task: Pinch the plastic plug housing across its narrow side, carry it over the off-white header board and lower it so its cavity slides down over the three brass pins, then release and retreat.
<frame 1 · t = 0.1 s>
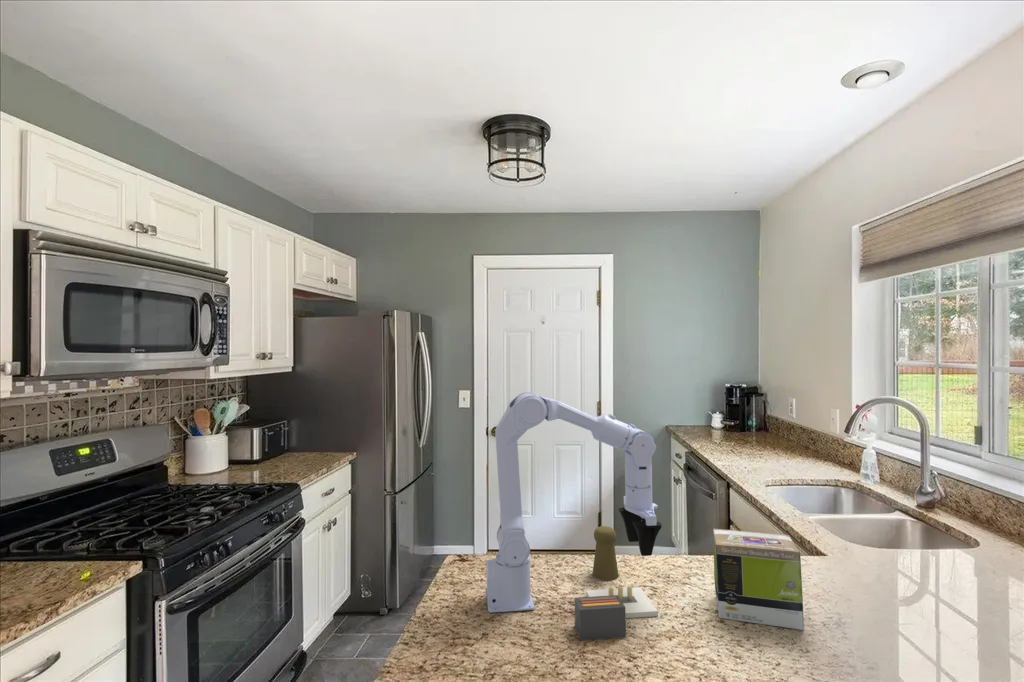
hand: (639, 548, 106), 10 cm above the worktop, fingers open, 7 cm apart
plug housing: (599, 632, 92), on the worktop
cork: (605, 575, 115), on the worktop
tea box: (756, 613, 98), on the worktop
header board: (620, 605, 101), on the worktop
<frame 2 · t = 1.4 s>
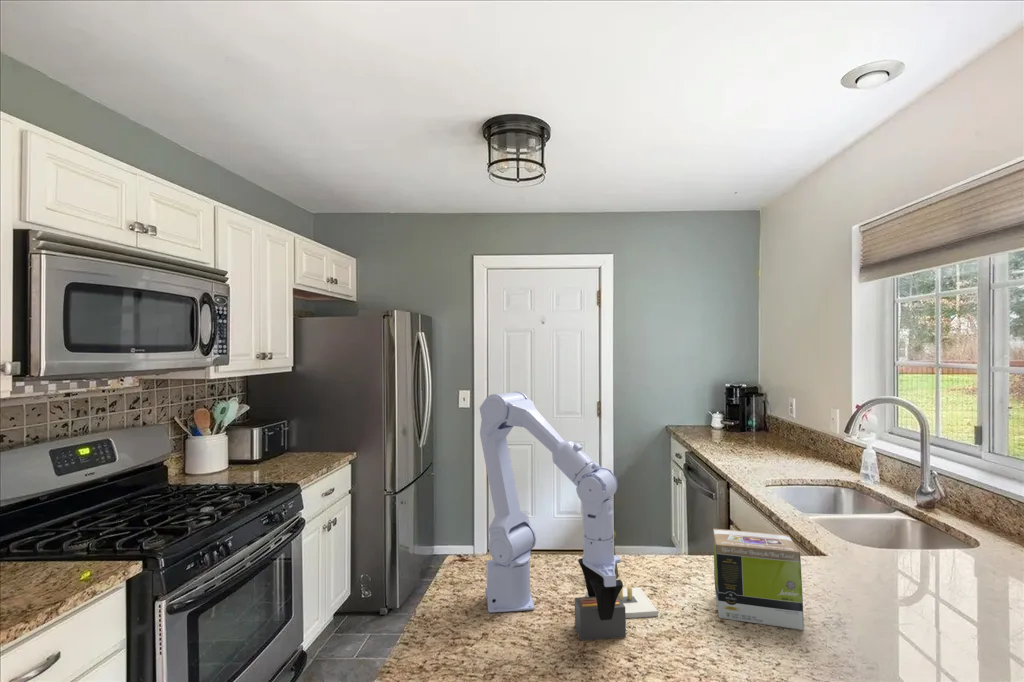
hand: (599, 608, 92), 4 cm above the worktop, fingers open, 7 cm apart
nothing on the worktop moved.
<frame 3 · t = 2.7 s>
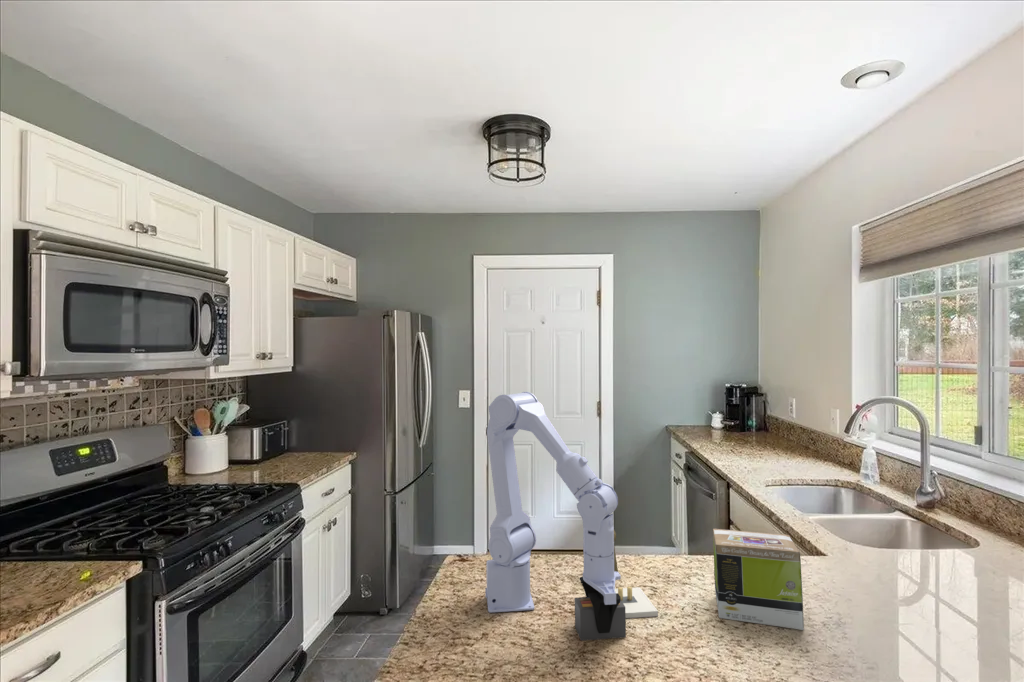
hand: (599, 624, 92), 1 cm above the worktop, fingers closed on plug housing, 4 cm apart
plug housing: (599, 631, 92), on the worktop, touching gripper
everything else where it was.
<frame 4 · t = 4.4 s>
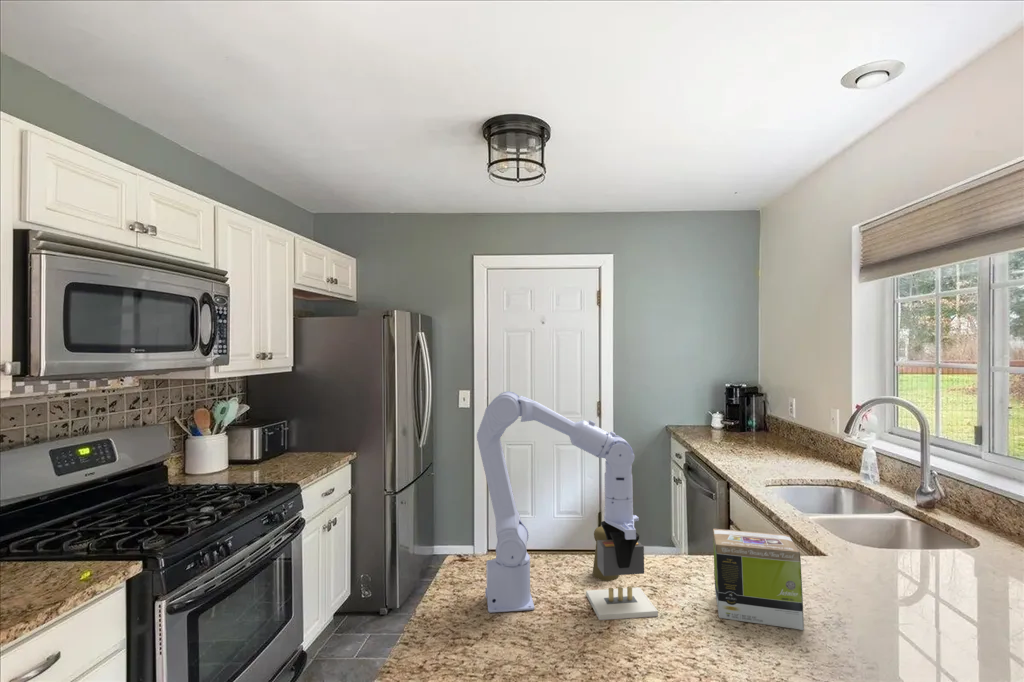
hand: (619, 561, 102), 9 cm above the worktop, fingers closed on plug housing, 4 cm apart
plug housing: (620, 570, 102), point 7 cm above the worktop, touching gripper
everything else where it was.
when the fingers open (3 cm above the worktop, at t = 6.1 s): plug housing stays where it is, resting on header board.
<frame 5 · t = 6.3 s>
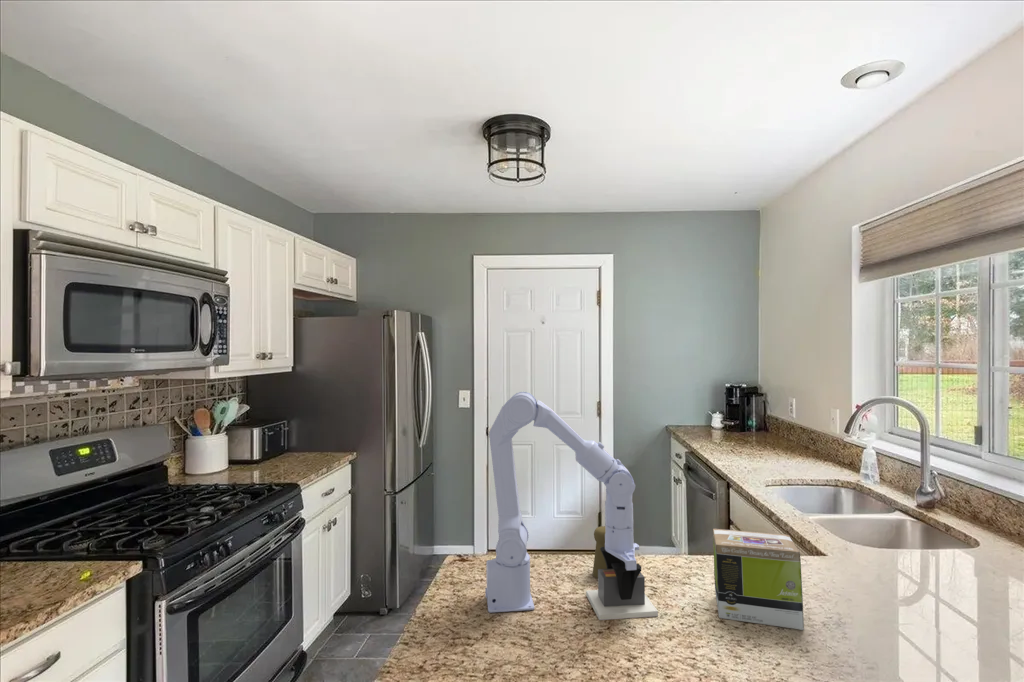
hand: (620, 590, 101), 3 cm above the worktop, fingers open, 6 cm apart
plug housing: (620, 600, 101), point 1 cm above the worktop, touching header board
everything else where it was.
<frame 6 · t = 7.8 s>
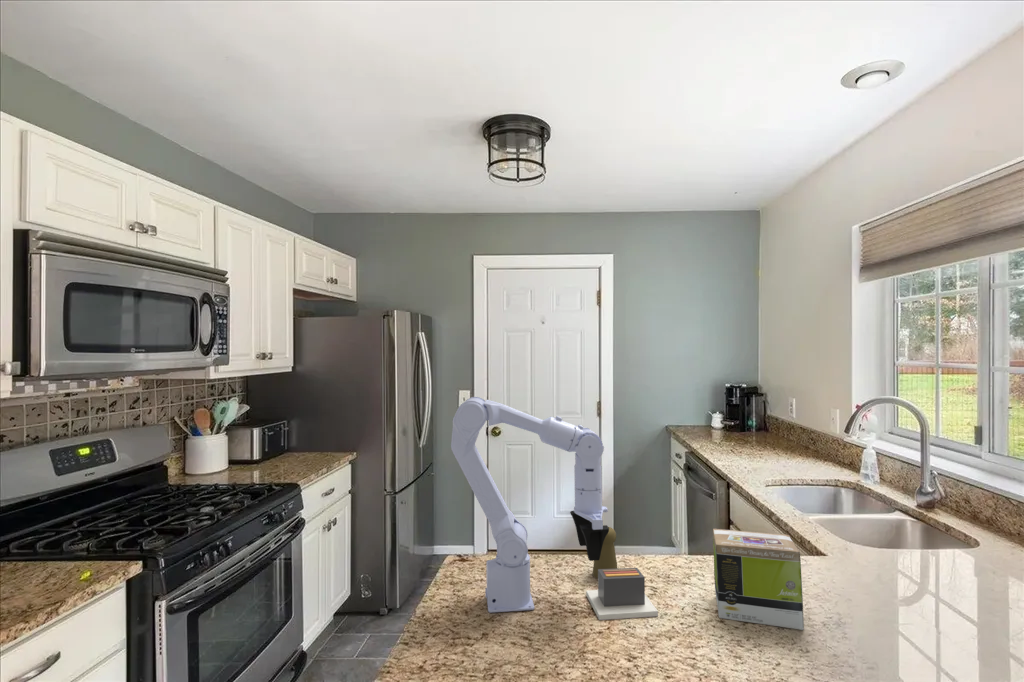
hand: (589, 552, 103), 10 cm above the worktop, fingers open, 7 cm apart
nothing on the worktop moved.
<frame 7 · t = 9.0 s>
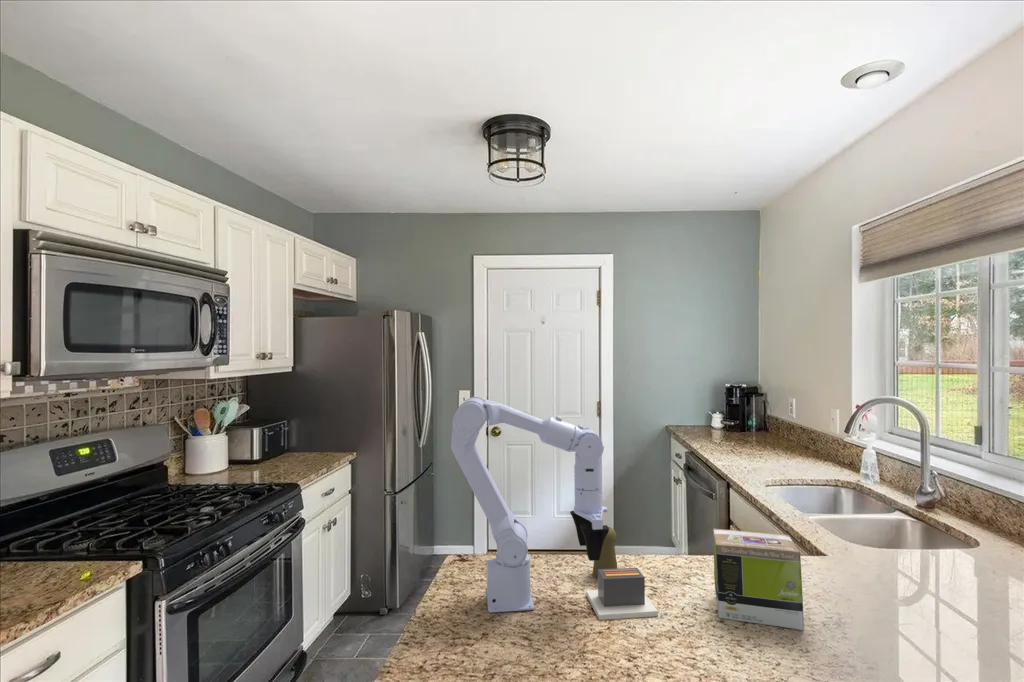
hand: (589, 552, 103), 10 cm above the worktop, fingers open, 7 cm apart
nothing on the worktop moved.
at the end: plug housing 0.1 cm off-centre on the header board, point 1.1 cm above the header board's base; plug housing tilted 1°; the gripper is holding nothing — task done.
